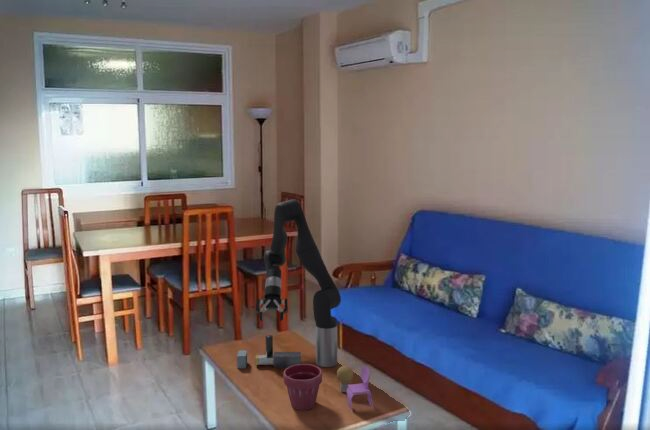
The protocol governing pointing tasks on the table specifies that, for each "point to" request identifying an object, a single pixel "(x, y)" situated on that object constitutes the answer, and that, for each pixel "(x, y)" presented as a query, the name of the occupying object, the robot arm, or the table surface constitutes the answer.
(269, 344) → the block with knob
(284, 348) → the table surface
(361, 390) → the toy chair
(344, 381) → the light bulb
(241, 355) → the socket
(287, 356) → the sleeve
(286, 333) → the table surface
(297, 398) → the plant pot
